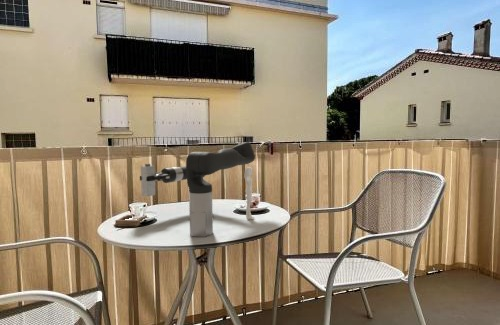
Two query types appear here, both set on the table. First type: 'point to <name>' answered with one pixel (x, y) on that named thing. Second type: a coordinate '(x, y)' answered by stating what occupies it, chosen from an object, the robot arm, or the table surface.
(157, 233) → the table surface
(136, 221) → the tray
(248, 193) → the character figure
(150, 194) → the grey rectangular block
